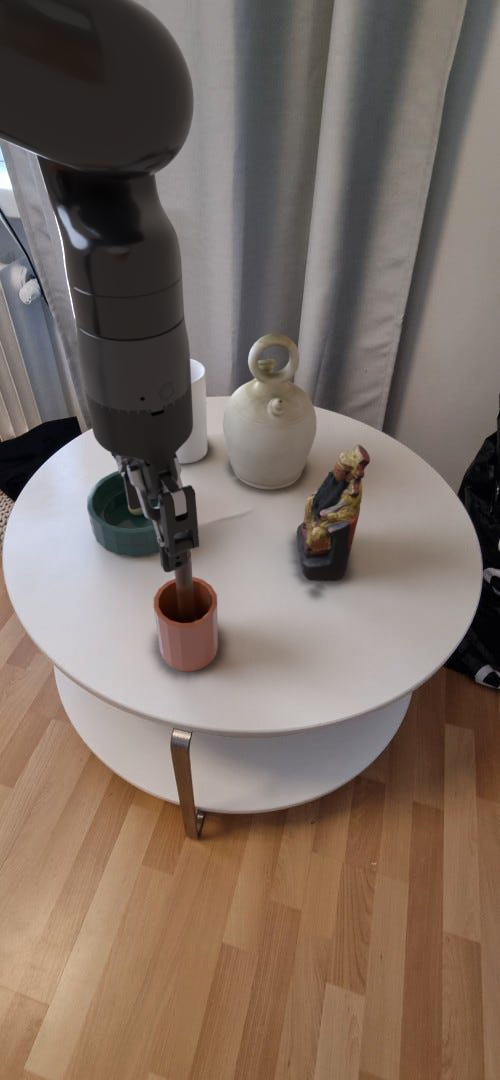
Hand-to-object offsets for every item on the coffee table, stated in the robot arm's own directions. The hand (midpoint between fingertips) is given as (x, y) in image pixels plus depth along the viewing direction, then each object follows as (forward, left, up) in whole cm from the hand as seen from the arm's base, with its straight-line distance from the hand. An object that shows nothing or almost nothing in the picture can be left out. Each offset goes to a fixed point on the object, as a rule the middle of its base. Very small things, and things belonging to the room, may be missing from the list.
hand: (156, 534), depth 53 cm
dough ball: (+6, +31, -26) cm, 41 cm away
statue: (+28, +10, -28) cm, 41 cm away
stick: (+4, +5, -28) cm, 28 cm away
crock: (+4, +5, -28) cm, 29 cm away
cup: (+20, +44, -28) cm, 56 cm away
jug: (+31, +33, -28) cm, 53 cm away
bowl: (+6, +29, -28) cm, 41 cm away
